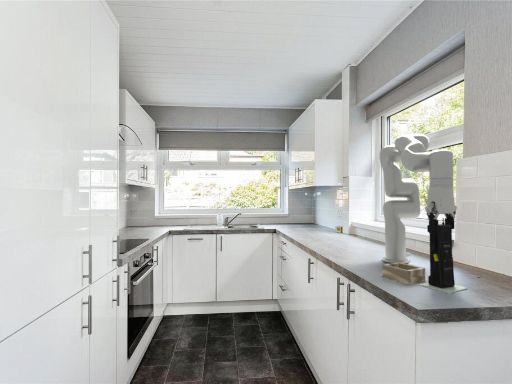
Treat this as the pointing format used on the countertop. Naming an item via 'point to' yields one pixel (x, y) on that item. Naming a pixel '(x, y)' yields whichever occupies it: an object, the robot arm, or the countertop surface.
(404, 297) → the countertop surface
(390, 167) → the robot arm
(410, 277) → the wooden pocket
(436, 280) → the portable radio
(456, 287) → the rubber mat
